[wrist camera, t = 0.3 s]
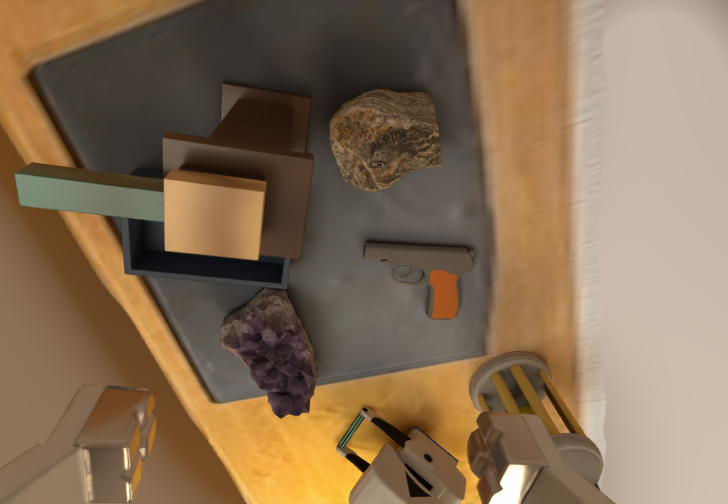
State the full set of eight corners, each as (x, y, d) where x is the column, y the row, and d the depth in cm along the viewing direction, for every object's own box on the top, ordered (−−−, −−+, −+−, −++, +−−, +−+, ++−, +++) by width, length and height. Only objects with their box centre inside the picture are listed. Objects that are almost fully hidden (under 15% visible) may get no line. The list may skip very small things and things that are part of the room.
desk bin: (135, 167, 55) (118, 184, 50) (298, 189, 59) (297, 207, 54) (139, 251, 60) (124, 274, 55) (288, 267, 64) (286, 289, 59)
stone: (328, 200, 56) (337, 164, 46) (320, 125, 58) (327, 77, 49) (432, 195, 59) (461, 160, 49) (420, 123, 61) (445, 77, 52)
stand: (223, 81, 52) (161, 137, 30) (311, 96, 53) (314, 159, 32) (220, 150, 55) (163, 244, 33) (303, 162, 57) (300, 259, 35)
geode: (344, 368, 74) (341, 421, 66) (280, 385, 76) (270, 438, 68) (288, 273, 63) (276, 322, 55) (216, 297, 66) (194, 347, 57)
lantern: (563, 360, 78) (662, 497, 56) (522, 417, 84) (598, 562, 62) (492, 343, 75) (569, 482, 53) (455, 404, 81) (510, 552, 59)
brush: (40, 212, 31) (10, 234, 28) (29, 140, 29) (-4, 156, 26) (262, 237, 34) (258, 260, 31) (268, 174, 32) (264, 191, 29)
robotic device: (384, 383, 86) (334, 440, 69) (479, 460, 81) (452, 544, 63) (359, 419, 90) (306, 483, 73) (448, 495, 85) (414, 584, 67)
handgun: (355, 309, 69) (364, 238, 63) (456, 313, 71) (473, 245, 65) (356, 316, 67) (366, 244, 61) (459, 320, 69) (477, 251, 64)
